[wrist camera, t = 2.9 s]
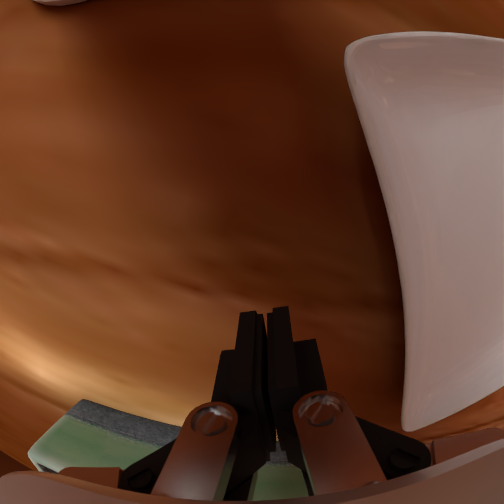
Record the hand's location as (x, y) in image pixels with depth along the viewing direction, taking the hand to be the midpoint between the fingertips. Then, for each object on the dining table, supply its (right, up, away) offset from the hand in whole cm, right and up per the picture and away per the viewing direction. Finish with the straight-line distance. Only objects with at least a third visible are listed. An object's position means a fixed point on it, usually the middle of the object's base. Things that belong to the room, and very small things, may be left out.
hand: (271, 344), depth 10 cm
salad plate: (+15, +5, +2) cm, 16 cm away
